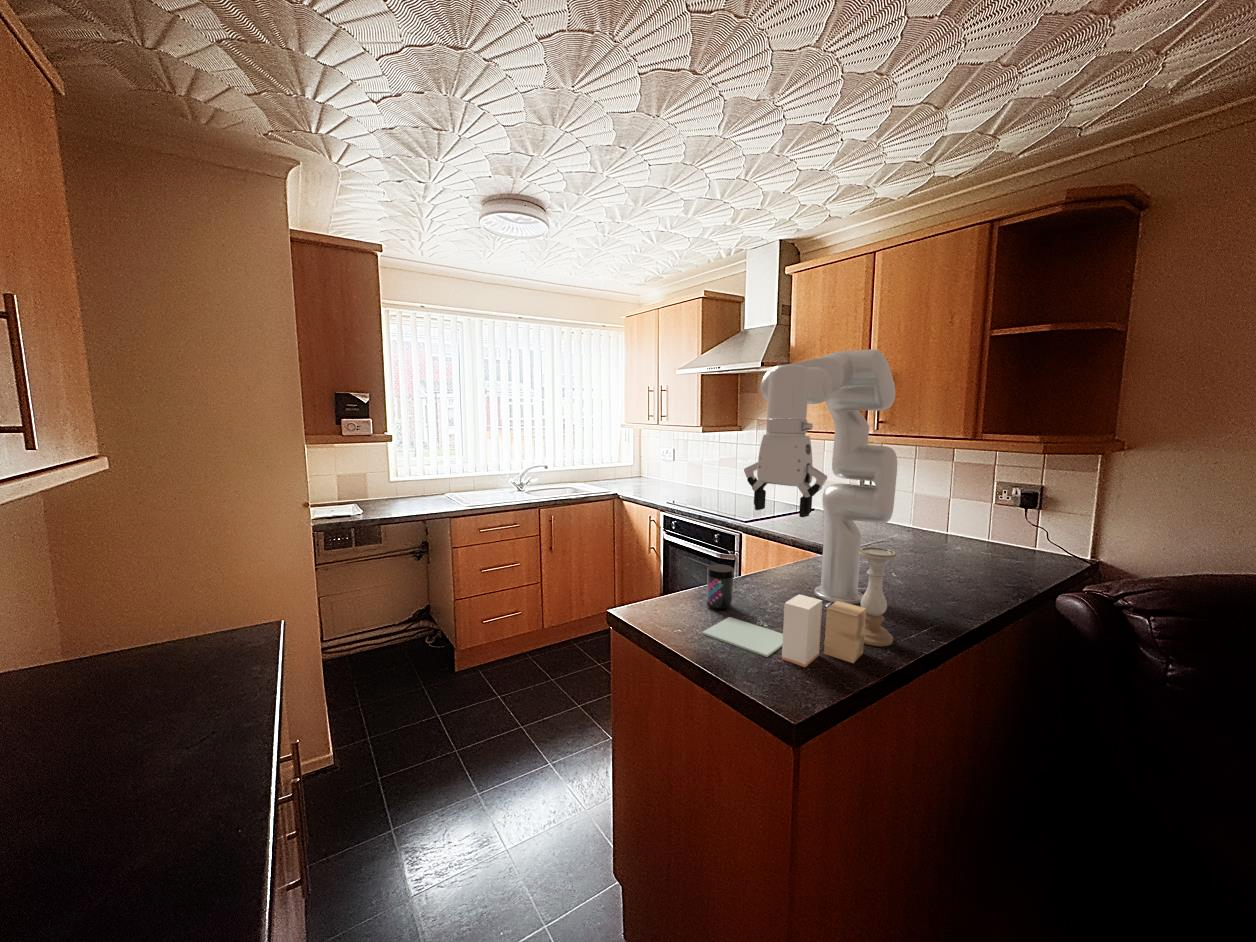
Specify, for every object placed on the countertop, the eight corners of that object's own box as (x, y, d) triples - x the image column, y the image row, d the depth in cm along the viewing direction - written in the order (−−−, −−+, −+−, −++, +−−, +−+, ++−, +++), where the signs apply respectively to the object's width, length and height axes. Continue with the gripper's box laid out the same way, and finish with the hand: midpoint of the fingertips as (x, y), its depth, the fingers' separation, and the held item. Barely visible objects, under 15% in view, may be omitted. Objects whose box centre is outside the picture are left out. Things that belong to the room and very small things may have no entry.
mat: (729, 618, 124) (729, 616, 124) (791, 638, 114) (791, 636, 113) (702, 633, 115) (702, 631, 115) (767, 657, 105) (767, 654, 105)
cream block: (795, 647, 109) (798, 594, 108) (818, 655, 106) (822, 600, 105) (781, 659, 104) (784, 603, 103) (805, 667, 101) (808, 609, 99)
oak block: (834, 644, 111) (837, 600, 110) (862, 653, 107) (866, 608, 106) (823, 653, 107) (826, 608, 106) (853, 663, 103) (856, 616, 102)
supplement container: (705, 601, 135) (706, 563, 134) (730, 602, 135) (732, 564, 134) (707, 611, 129) (708, 571, 127) (734, 612, 128) (735, 572, 127)
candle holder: (860, 626, 121) (866, 543, 118) (899, 639, 114) (906, 552, 112) (843, 637, 115) (849, 550, 113) (883, 650, 108) (890, 559, 106)
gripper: (836, 429, 98) (831, 516, 99) (756, 427, 109) (752, 505, 111) (821, 429, 92) (815, 522, 94) (738, 427, 104) (734, 509, 106)
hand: (781, 512), depth 103 cm, fingers open, 9 cm apart
